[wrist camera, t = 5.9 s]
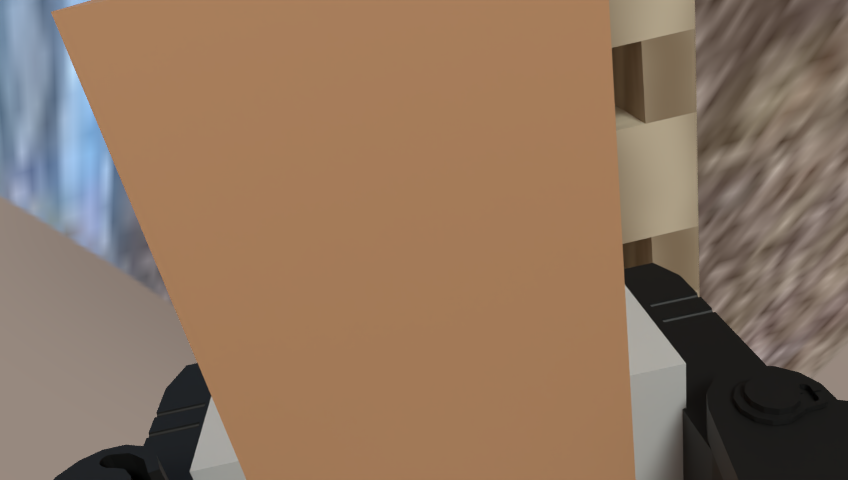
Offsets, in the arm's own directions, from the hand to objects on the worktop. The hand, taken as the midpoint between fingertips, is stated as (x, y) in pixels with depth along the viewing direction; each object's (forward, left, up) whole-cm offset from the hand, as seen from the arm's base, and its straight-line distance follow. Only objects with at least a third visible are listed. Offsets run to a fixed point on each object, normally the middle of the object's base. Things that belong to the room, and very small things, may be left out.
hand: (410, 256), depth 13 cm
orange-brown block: (0, 0, -3) cm, 3 cm away
